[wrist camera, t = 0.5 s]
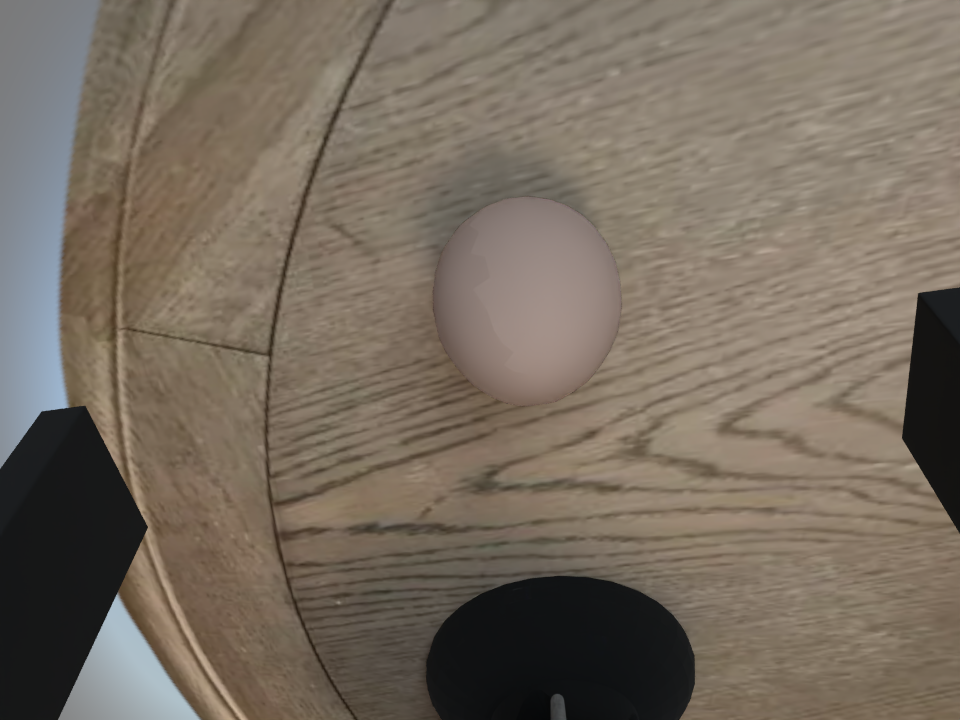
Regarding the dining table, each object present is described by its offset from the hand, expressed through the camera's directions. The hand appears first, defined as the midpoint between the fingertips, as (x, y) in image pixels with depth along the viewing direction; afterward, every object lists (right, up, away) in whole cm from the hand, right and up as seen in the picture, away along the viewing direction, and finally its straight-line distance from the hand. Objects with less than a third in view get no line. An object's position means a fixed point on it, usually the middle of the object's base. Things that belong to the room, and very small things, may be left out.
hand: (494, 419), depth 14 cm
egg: (+1, +6, +21) cm, 21 cm away
